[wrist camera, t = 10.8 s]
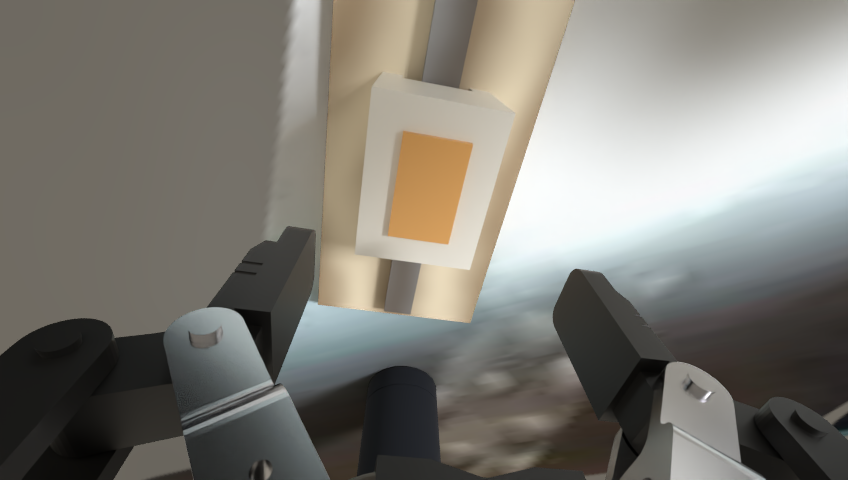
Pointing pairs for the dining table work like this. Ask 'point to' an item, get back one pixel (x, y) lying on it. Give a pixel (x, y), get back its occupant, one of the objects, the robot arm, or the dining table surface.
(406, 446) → the wine bottle
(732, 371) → the dining table surface
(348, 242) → the rail board
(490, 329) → the dining table surface
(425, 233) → the block
